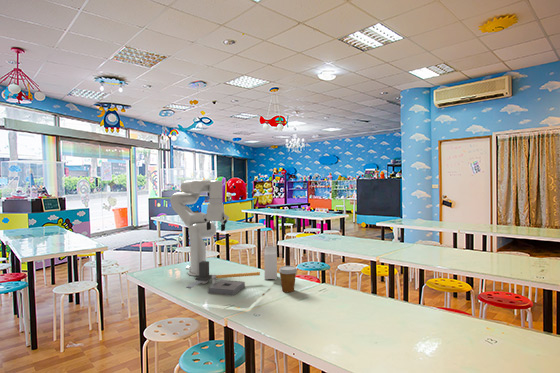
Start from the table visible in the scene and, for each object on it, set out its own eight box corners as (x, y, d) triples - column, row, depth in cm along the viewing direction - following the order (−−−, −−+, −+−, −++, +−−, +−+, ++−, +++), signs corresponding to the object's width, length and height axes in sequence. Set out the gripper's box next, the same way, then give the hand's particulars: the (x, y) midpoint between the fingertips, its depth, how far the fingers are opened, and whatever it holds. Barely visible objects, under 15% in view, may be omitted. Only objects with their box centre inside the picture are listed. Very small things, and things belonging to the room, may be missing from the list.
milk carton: (276, 279, 190) (276, 247, 189) (264, 279, 190) (264, 247, 190) (277, 276, 197) (276, 245, 197) (265, 276, 197) (265, 245, 197)
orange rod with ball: (211, 279, 172) (211, 276, 172) (211, 277, 175) (211, 275, 175) (260, 275, 178) (260, 272, 178) (259, 274, 181) (259, 271, 181)
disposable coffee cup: (297, 287, 175) (297, 265, 174) (296, 293, 165) (296, 270, 165) (280, 287, 175) (279, 265, 175) (278, 293, 166) (277, 270, 166)
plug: (195, 285, 179) (195, 263, 179) (202, 281, 186) (201, 260, 186) (206, 286, 177) (206, 263, 177) (213, 282, 184) (212, 260, 184)
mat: (186, 287, 177) (186, 286, 177) (200, 280, 190) (200, 279, 190) (209, 289, 173) (209, 288, 173) (221, 282, 186) (221, 281, 186)
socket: (203, 294, 165) (202, 284, 165) (216, 286, 178) (216, 276, 178) (233, 298, 160) (233, 286, 160) (244, 289, 173) (244, 278, 173)
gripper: (199, 201, 190) (199, 230, 190) (225, 202, 184) (225, 232, 184) (207, 200, 197) (207, 228, 197) (231, 201, 191) (231, 230, 191)
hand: (215, 230), depth 191 cm, fingers open, 9 cm apart
